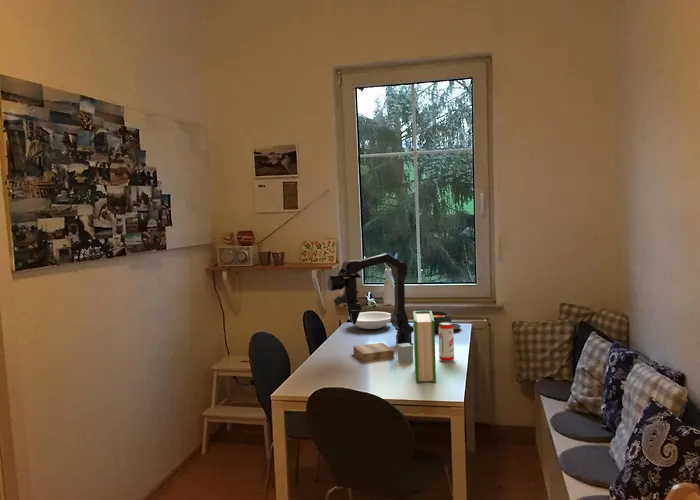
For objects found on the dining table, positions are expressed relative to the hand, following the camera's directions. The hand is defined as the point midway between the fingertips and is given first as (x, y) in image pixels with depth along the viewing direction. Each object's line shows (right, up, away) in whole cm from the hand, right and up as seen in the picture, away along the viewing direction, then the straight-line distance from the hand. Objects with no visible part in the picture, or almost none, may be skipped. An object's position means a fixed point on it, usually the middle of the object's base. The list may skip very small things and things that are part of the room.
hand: (352, 322), depth 258 cm
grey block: (+23, -15, -15) cm, 31 cm away
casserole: (+44, -9, +38) cm, 58 cm away
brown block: (+9, -15, -6) cm, 18 cm away
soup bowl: (+10, -10, +47) cm, 49 cm away
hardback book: (+28, -17, -36) cm, 49 cm away
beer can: (+40, -14, -17) cm, 46 cm away
